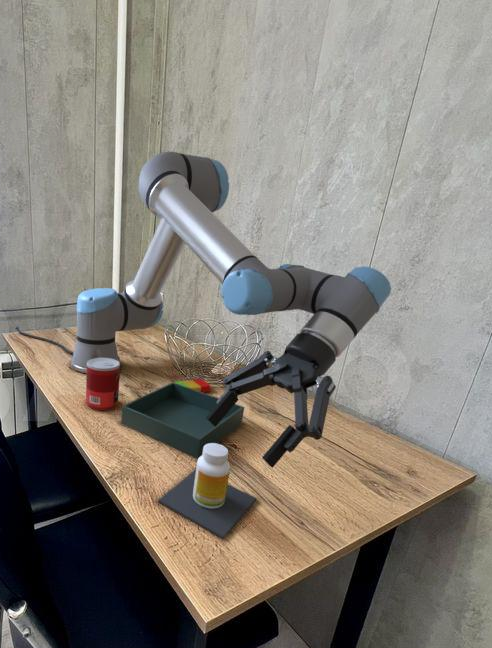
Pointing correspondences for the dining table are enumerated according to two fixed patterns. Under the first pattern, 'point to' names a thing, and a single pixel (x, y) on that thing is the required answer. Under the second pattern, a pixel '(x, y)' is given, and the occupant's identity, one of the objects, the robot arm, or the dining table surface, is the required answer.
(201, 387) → the popsicle
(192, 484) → the mat
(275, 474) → the dining table surface
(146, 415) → the dark green tray
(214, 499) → the supplement bottle
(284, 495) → the dining table surface
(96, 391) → the canned food
